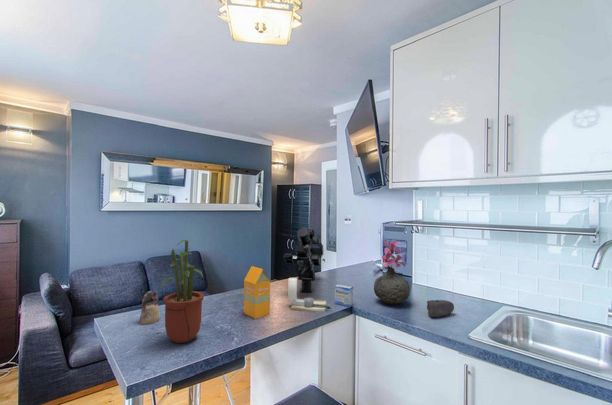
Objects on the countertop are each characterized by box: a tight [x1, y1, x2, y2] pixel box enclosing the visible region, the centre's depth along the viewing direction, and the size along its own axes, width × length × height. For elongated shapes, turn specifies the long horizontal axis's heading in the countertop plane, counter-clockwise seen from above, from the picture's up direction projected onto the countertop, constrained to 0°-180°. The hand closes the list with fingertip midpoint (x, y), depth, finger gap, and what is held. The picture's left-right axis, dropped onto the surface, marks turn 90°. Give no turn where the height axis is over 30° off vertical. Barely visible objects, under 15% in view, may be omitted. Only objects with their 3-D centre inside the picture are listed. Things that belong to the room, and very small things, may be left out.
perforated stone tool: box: [426, 299, 455, 318], centre depth 128 cm, size 15×5×7 cm, turn 109°
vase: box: [373, 240, 411, 306], centre depth 143 cm, size 17×17×30 cm
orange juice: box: [243, 265, 271, 319], centre depth 126 cm, size 8×9×20 cm
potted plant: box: [155, 239, 205, 344], centre depth 103 cm, size 17×16×35 cm
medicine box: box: [334, 284, 354, 308], centre depth 140 cm, size 8×4×9 cm, turn 62°
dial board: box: [290, 298, 333, 313], centre depth 136 cm, size 12×19×1 cm, turn 84°
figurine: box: [139, 290, 161, 325], centre depth 117 cm, size 7×7×12 cm
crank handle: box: [287, 277, 329, 309], centre depth 134 cm, size 19×4×12 cm, turn 75°
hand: (298, 273), depth 145 cm, fingers closed
